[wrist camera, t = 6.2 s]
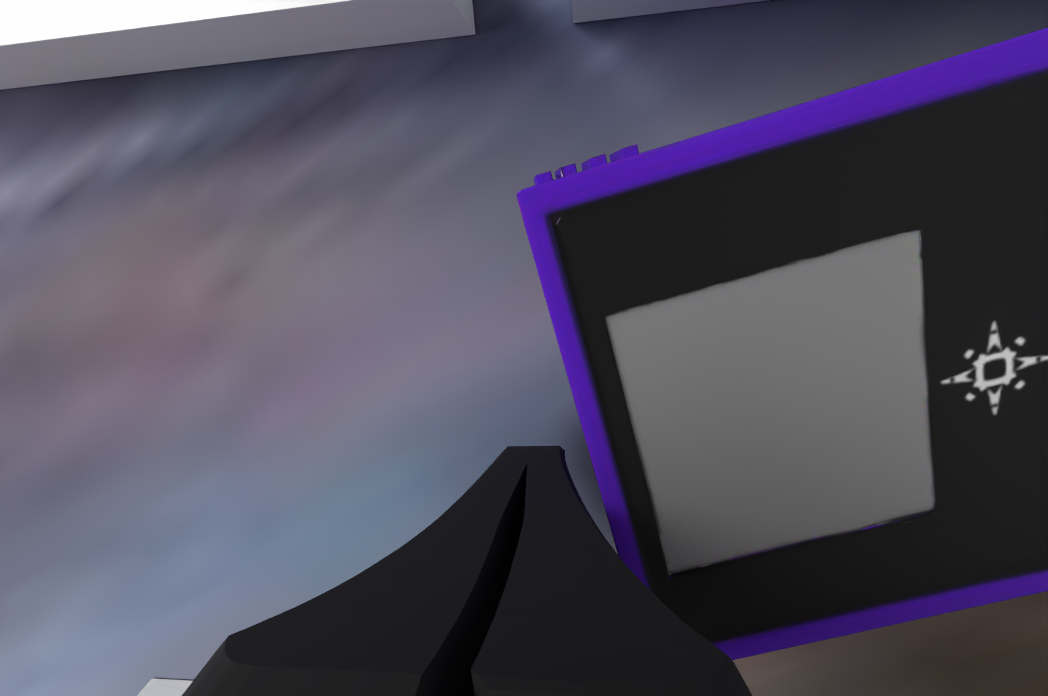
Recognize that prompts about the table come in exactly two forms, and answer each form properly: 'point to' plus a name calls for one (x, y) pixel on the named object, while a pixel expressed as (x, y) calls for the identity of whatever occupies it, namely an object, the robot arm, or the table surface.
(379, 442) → the table surface
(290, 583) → the table surface
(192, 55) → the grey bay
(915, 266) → the handheld gaming console
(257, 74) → the table surface
